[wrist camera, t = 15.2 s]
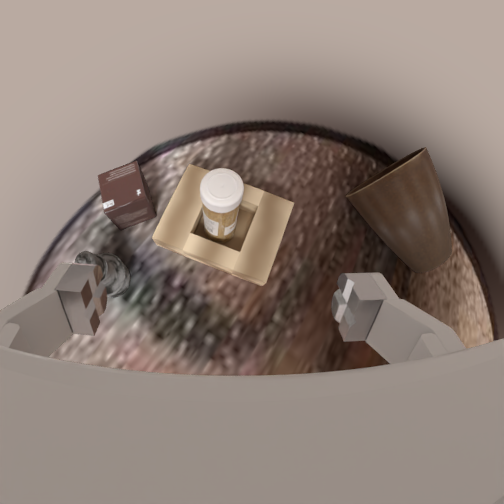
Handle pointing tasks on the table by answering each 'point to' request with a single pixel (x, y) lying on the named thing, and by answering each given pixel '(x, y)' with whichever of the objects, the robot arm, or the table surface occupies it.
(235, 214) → the sprinkles bottle
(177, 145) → the table surface
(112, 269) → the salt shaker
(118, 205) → the box
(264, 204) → the holder
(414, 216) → the plant pot
